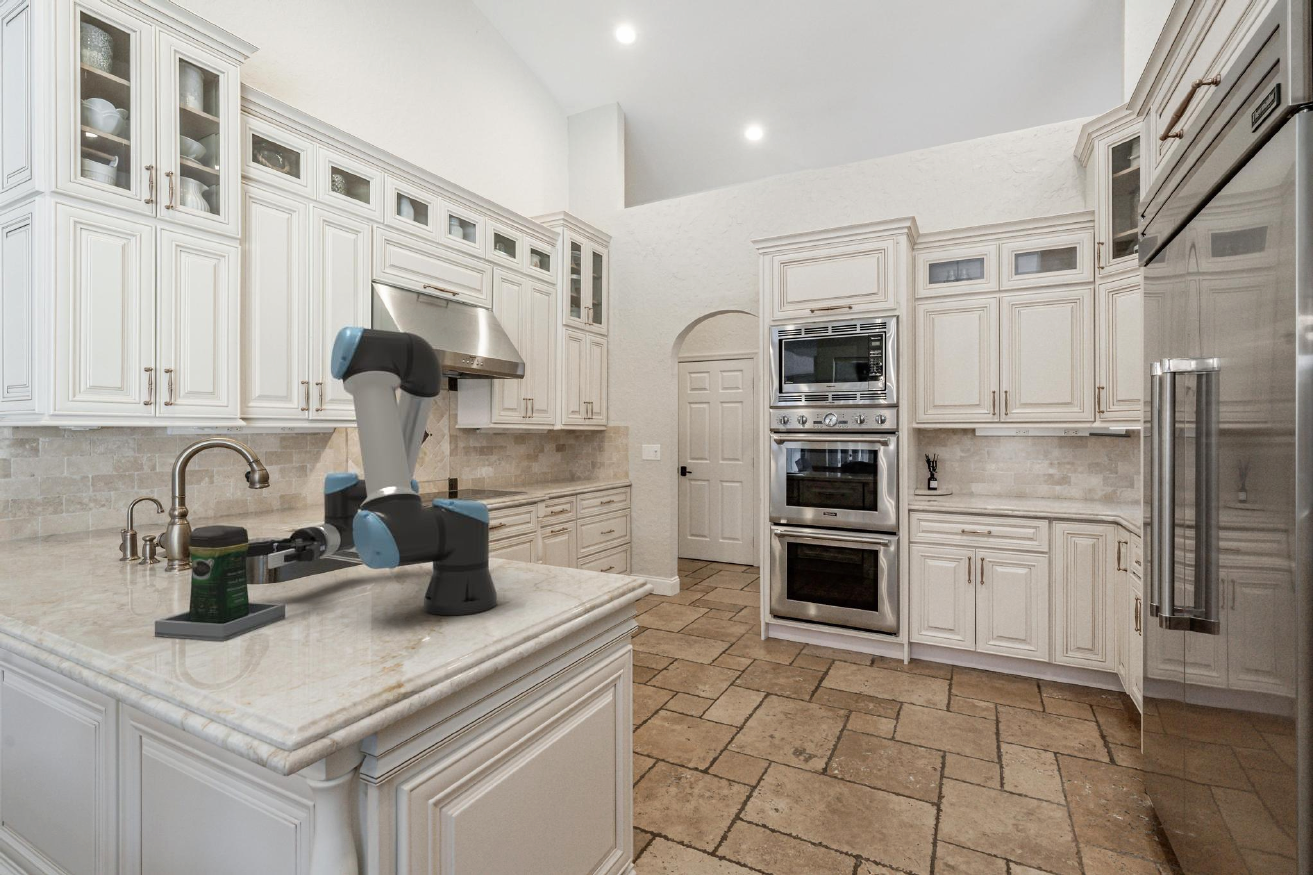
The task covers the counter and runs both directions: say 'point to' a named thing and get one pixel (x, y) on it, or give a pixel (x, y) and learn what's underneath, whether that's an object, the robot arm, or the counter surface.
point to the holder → (220, 632)
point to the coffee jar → (218, 574)
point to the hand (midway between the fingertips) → (238, 560)
